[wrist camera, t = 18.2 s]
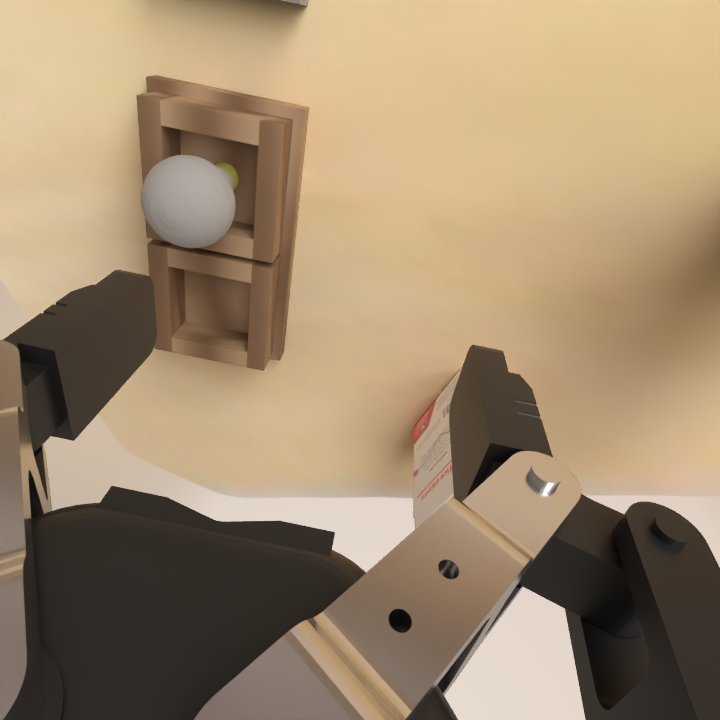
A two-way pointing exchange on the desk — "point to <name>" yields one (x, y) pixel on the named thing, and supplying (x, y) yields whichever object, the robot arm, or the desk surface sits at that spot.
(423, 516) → the ink cartridge box
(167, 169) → the light bulb
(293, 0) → the bulb socket block
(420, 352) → the desk surface
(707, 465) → the desk surface
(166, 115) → the bulb rack
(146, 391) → the desk surface
